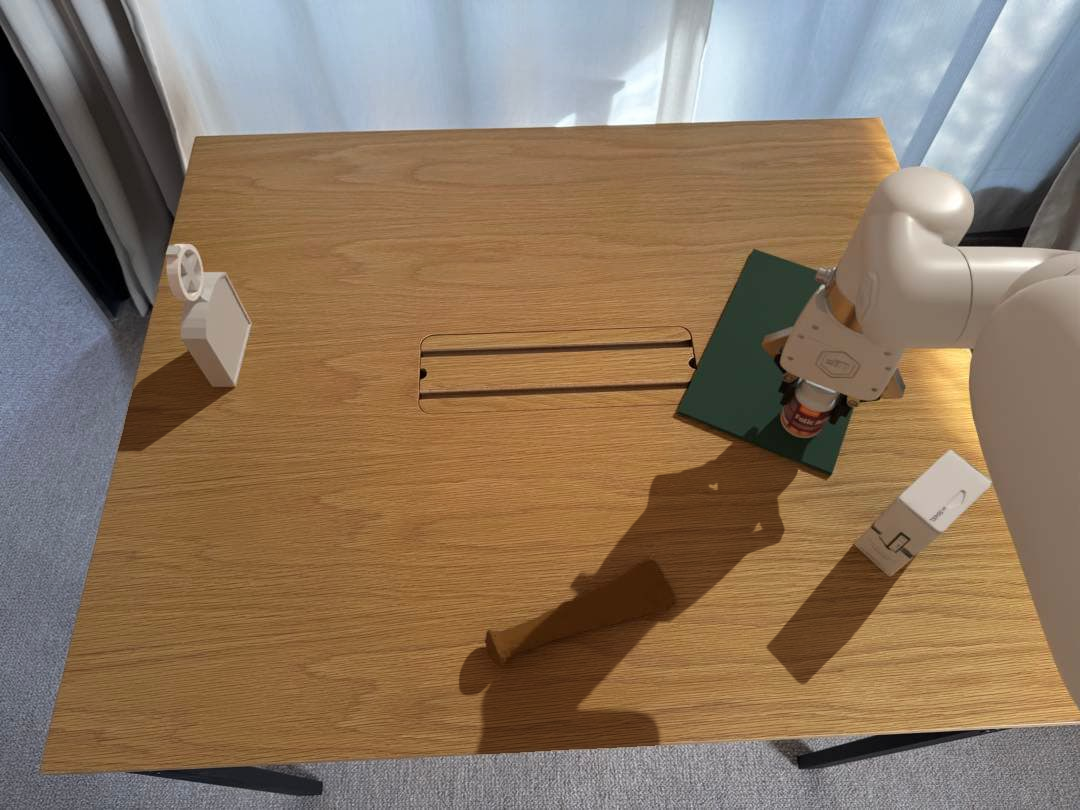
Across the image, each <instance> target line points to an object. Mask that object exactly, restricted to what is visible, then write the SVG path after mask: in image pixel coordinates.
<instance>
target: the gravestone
mask: <svg viewBox="0 0 1080 810" xmlns="http://www.w3.org/2000/svg"><path fill="white" fill-rule="evenodd" d="M165 256H166V258H167V259H166V279H167V283H168V286H169V290H170V292H171V293H172V295H173V296H174V298H175V299H177V300H179V301H180V302H181V301H183V305H182V309H181V314H180V315H181V316H180V328H179V329H180V340H181V341H182V343H183V345H184V346H185V348H186V349H187V350H188V352H189V353H190V355H191V356H192V358H193V360H194V361H195V363H196V364H197V365H198V368H199V369H200V371H201V372H202V373H203V375H204V376H205V378H206V379H207V381H208V382H209V384H210V385H211V387H213V388H236V387H237V384H238V380H239V377H240V376H239V375H240V372H241V368H242V364H243V362H244V361H243V360H244V356H245V352H246V348H247V345H248V341H249V336H250V333H251V329H252V325H253V322H252V320H251V319H250V317H249V315H248V313H247V310H246V309H245V307H244V304H243V303H242V301H241V299H240V297H239V295H238V293H237V291H236V289H235V287H234V285H233V283H232V281H231V279H230V278H229V276H228V274H227V272H226V271H204V266H203V262H202V258H201V255H200V253H199V251H198V249H197V248H196V246H195V245H193V244H191V243H175V244H173V245H168V246H167V249H166V252H165Z"/></svg>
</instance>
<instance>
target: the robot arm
mask: <svg viewBox="0 0 1080 810" xmlns="http://www.w3.org/2000/svg"><path fill="white" fill-rule="evenodd" d="M974 216H975V203H974V199H973V196H972V195H971V192H970V191H969V189H968V188H967V187H966V186H965V184H963V183H962V181H960V180H959V179H958V178H956V177H955V176H954V175H951V174H950V173H947V172H946V171H943V170H941V169H937V168H934V167H929V166H907V167H903V168H899V169H897V170H895V171H893V172H891V173H889V174H888V175H887V176H886V177H884V178H883V179H881V181H880V182H879V183H878V185H877V186H876V188H875V189H874V191H873V193H872V194H871V197H870V199H869V201H868V203H867V205H866V207H865V209H864V212H863V214H862V216H861V217H860V219H859V222H858V224H857V226H856V228H855V230H854V232H853V234H852V236H851V238H850V240H849V242H848V244H847V246H846V248H845V250H844V252H843V254H842V257H841V259H840V260H839V261H838V263H837V265H836V266H833V267H832V268H831V267H827V268H826V267H823V266H819V267H818V268H817V273H816V275H815V278H814V280H815V281H817V282H820V283H821V284H822V285H821V286H820V287H819V288H818V289H817V290H816V292H815V293H814V294H813V295H812V297H811V298H810V299H809V301H808V302H807V304H806V305H805V307H804V309H803V310H802V312H801V314H800V315H799V317H798V319H797V321H796V322H795V324H794V326H792V327H789V328H786V329H783V330H780V331H777V332H775V333H772V334H769V335H766V336H765V338H764V340H763V342H762V345H761V346H762V348H763V349H764V350H765V351H766V352H767V353H768V354H769V355H770V356H771V357H773V358H774V363H775V364H776V365H777V367H778V368H779V369H780V371H781V372H782V373H783V376H782V379H783V380H782V382H781V385H780V387H779V390H778V392H780V393H783V397H782V399H781V402H780V404H781V405H783V406H784V405H787V403H788V401H789V399H790V397H791V396H792V394H793V392H794V390H795V388H796V385H797V383H798V380H799V378H803V379H805V380H808V381H810V382H813V383H815V384H818V385H821V386H823V387H826V388H829V389H831V390H834V391H837V392H839V393H840V395H839V401H838V404H837V406H836V407H835V409H834V410H833V411H832V413H831V416H830V418H829V422H830V424H832V425H835V424H836V422H837V421H838V419H839V418H840V416H843V417H845V418H846V417H847V415H848V414H849V412H850V411H851V409H852V408H853V407H854V408H858V407H859V406H860V404H863V403H870V402H871V403H872V402H878V401H880V400H881V399H883V400H900V399H903V397H904V396H905V395H904V394H905V391H906V388H907V387H906V384H905V382H904V379H903V377H902V375H901V373H900V370H899V369H898V367H899V365H900V363H901V361H902V359H903V358H904V356H905V353H906V351H907V350H917V349H918V350H943V349H952V350H953V349H957V350H963V349H964V350H965V349H966V350H972V353H971V357H970V363H969V373H968V393H969V401H970V402H969V403H970V410H971V417H972V420H973V423H974V424H973V425H974V427H975V431H976V435H977V438H978V442H979V447H980V449H981V453H982V457H983V459H984V460H983V461H984V463H985V466H986V469H987V472H988V475H989V478H990V479H991V481H992V484H991V485H992V487H993V490H994V492H995V495H996V498H997V501H998V503H999V506H1000V509H1001V512H1002V515H1003V518H1004V520H1005V523H1006V527H1007V529H1008V532H1009V535H1010V538H1011V541H1012V543H1013V546H1014V549H1015V552H1016V556H1017V558H1018V561H1019V564H1020V567H1021V570H1022V573H1023V576H1024V579H1025V581H1026V584H1027V585H1026V586H1027V588H1028V591H1029V593H1030V597H1031V600H1032V602H1033V606H1034V608H1035V612H1036V615H1037V618H1038V621H1039V623H1040V626H1041V630H1042V632H1043V635H1044V638H1045V640H1046V643H1047V646H1048V649H1049V652H1050V655H1051V657H1052V659H1053V662H1054V664H1055V667H1056V669H1057V672H1058V674H1059V676H1060V678H1061V680H1062V682H1063V685H1064V687H1065V689H1066V690H1067V692H1068V694H1069V696H1070V698H1071V700H1072V701H1073V703H1074V704H1075V706H1076V708H1077V709H1078V711H1079V712H1080V251H1075V250H1064V249H1055V248H1042V247H1022V246H1021V247H1019V246H959V244H960V243H961V242H962V240H963V238H964V237H965V235H966V234H967V232H968V231H969V229H970V227H971V226H972V223H973V220H974Z"/></svg>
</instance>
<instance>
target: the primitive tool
mask: <svg viewBox="0 0 1080 810" xmlns="http://www.w3.org/2000/svg"><path fill="white" fill-rule="evenodd" d="M676 605H677V597H676V595H675V594H674V591H673V589H672V587H671V584H670V583H669V581H668V580H667V578H666V576H665V574H664V573H663V571H662V569H661V567H660V566H659V563H657V562H656V560H655V559H653V558H651V559H650V558H648V559H646V560H644V561H642V562H639V563H637V565H635V566H633V567H631V568H630V569H628V570H627V571H624V572H623V573H622V574H620V575H619V576H617V577H615V578H614V579H611V580H609V581H608V582H607V583H604V584H602V585H600V586H598V587H596V588H593V589H591V590H588V591H587V592H586V593H583V594H582V595H580V596H578V597H576V598H572V599H571V600H564V601H563V602H561V603H560V604H559V605H558V606H557V607H555V608H554V609H553V608H552V609H551V610H548V611H545V612H544V613H542V614H541V615H539V616H538V617H535V618H532V619H529V620H527V621H525V622H522V623H520V624H517V625H515V626H512V627H510V628H509V627H508V628H505V629H503V630H491V629H488V630H487V631H486V633H485V639H484V643H485V648H484V649H485V652H486V653H487V655H488V657H489V659H490V662H491V663H492V664H493V665H495V666H497V667H499V668H503V666H504V665H505V663H506V662H507V661H508V659H509V658H510V657H511V656H514V655H517V654H519V653H521V652H523V651H527V650H530V649H534V647H537V646H540V645H543V644H546V643H549V642H551V641H555V640H558V639H561V638H565V637H569V636H571V635H574V634H578V633H580V632H584V631H588V630H591V629H596V628H599V627H607V626H609V625H616V624H617V623H618V622H623V621H626V620H629V619H634V618H639V617H643V616H644V617H645V616H648V615H650V616H651V617H656V616H657V615H658V614H661V613H667V612H669V611H670V609H672V608H674V607H675V606H676Z"/></svg>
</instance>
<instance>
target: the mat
mask: <svg viewBox="0 0 1080 810" xmlns="http://www.w3.org/2000/svg"><path fill="white" fill-rule="evenodd" d="M817 271H818V269H814V268H811V267H809V266H805V265H803V264H799V263H796V262H793V261H791V260H788V259H786V258H782V257H780V256H776V255H773V254H770V253H768V252H764V251H762V250H759V249H756V248H753V249H752V251H751V254H750V255H749V257H748V260H747V262H746V264H745V266H744V268H743V271H742V273H741V274H740V277H739V279H738V281H737V283H736V285H735V288H734V289H733V292H732V293H731V296H730V298H729V301H728V302H727V304H726V306H725V308H724V311H723V312H722V315H721V317H720V319H719V322H718V323H717V326H716V328H715V330H714V332H713V334H712V336H711V338H710V341H709V343H708V345H707V347H706V349H705V351H704V354H703V355H702V358H701V360H700V361H699V364H698V366H697V369H696V370H695V372H694V375H693V377H692V379H691V381H690V383H689V385H688V387H687V390H686V392H685V394H684V396H683V398H682V401H681V402H680V405H679V406H678V409H677V411H676V414H678V415H679V416H682V417H684V418H687V419H690V420H691V421H694V422H698V423H699V424H702V425H705V426H707V427H709V428H712V429H714V430H716V431H719V432H722V433H724V434H726V435H730V436H732V437H734V438H737V439H739V440H742V441H744V442H746V443H749V444H752V445H754V446H756V447H759V448H761V449H764V450H767V451H768V452H771V453H773V454H776V455H779V456H780V457H783V458H786V459H788V460H791V461H793V462H795V463H798V464H800V465H804V466H806V467H808V468H810V469H813V470H815V471H818V472H821V473H823V474H825V475H827V476H832V474H833V473H834V470H835V467H836V464H837V461H838V458H839V455H840V451H841V448H842V446H843V442H844V439H845V436H846V433H847V429H848V427H849V424H850V421H851V417H852V414H853V412H854V409H855V407H853V408H852V409H851V411H850V412H849V414H848V415H847V417H846V418H845V417H843V416H840V418H839V419H838V421H837V422H836V424H835V425H832V424H830V422H829V418H830V416H831V415H830V416H829V418H828V419H827V421H826V423H825V424H824V426H823V427H822V429H821V430H820V432H819V433H818V434H817V435H815V436H813V437H810V438H800V437H796V436H793V435H792V434H790V433H789V432H788V431H786V429H785V428H784V427H783V425H782V423H781V418H780V416H781V412H782V409H783V407H784V406H783V405H781V404H780V402H781V399H782V397H783V393H780V392H778V390H779V387H780V385H781V382H782V380H783V379H782V376H783V373H782V372H781V371H780V369H779V368H778V367H777V365H776V364H775V363H774V358H773V357H771V356H770V355H769V354H768V353H767V352H766V351H765V350H764V349H763V348H762V346H761V345H762V342H763V340H764V338H765V336H766V335H769V334H772V333H775V332H777V331H780V330H783V329H786V328H789V327H792V326H794V324H795V322H796V321H797V319H798V317H799V315H800V314H801V312H802V310H803V309H804V307H805V305H806V304H807V302H808V301H809V299H810V298H811V297H812V295H813V294H814V293H815V292H816V290H817V289H818V288H819V287H820V286H821V285H822V284H821V283H820V282H817V281H815V280H814V278H815V275H816V273H817ZM799 379H800V378H799ZM839 395H840V394H839Z"/></svg>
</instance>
